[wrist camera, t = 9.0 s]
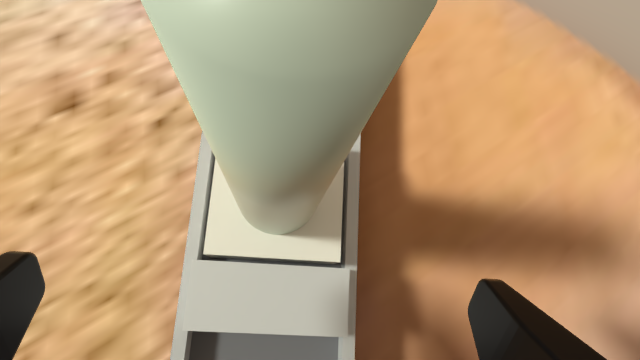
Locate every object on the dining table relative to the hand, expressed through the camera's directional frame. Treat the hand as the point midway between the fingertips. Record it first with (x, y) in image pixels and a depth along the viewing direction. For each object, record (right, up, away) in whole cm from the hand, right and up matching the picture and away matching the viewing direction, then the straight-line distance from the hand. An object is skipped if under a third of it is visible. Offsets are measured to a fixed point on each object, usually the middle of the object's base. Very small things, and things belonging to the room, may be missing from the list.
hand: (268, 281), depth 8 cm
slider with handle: (-1, +1, +9) cm, 9 cm away
